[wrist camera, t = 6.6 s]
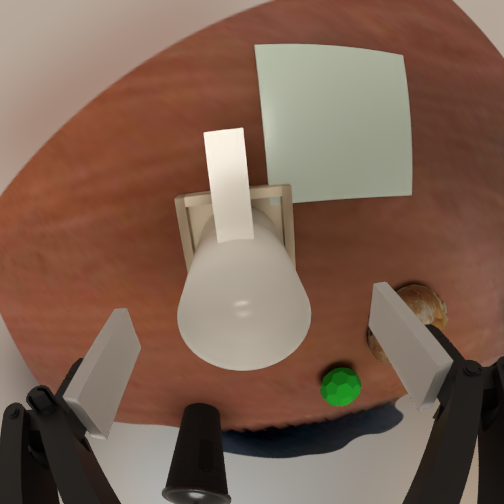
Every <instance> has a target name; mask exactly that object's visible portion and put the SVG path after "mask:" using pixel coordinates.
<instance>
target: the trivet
mask: <svg viewBox="0 0 504 504" xmlns="http://www.w3.org/2000/svg"><path fill="white" fill-rule="evenodd" d="M254 51H255V59H256V68H257V77H258V87H259V96H260V106H261V116H262V126H263V136H264V147H265V158H266V169H267V180H268V185H278V184H290V185H291V188H292V203H299V202H311V201H323V200H337V199H351V198H367V197H386V196H408V195H412V136H411V119H410V107H409V96H408V87H407V80H406V72H405V66H404V59H403V55H398V54H393V53H388V52H382V51H375V50H368V49H361V48H352V47H343V46H330V45H313V44H264V45H254ZM277 204H281V199H280V196H279V197H270V205H277Z"/></svg>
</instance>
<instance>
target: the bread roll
mask: <svg viewBox="0 0 504 504" xmlns="http://www.w3.org/2000/svg"><path fill="white" fill-rule="evenodd" d="M396 293H397V294H398V295H399V296H400V298H401V299H402V300H403V301H404V302H405V303H406V304H407V306H408V307H409V308H410V309H411V310H412V311H413V312H414V314H415V315H416V316H417V317H418V318H419V319H420V321H421V322H422V323H423V324H424V325H427V324H432V325H434V326H435V327H437V328H439V329H440V330H441V332H442V333H443V334H444V332H445V328H446V324H447V321H448V318H447V316H446V312H447V308H446V304H445V303H444V301H442V302H441V301H440V299H439V298H438V297H437V295H436V293H435V292H433V291H431V290H430V289H428V288H426V287H425V286H422V285H413V284H412V285H410V286H406V287H402V288H401V289H399V290H398V291H396ZM369 318H370V317H369ZM368 334H369V335H368V345H369V348H370V350H371V352H372V354H373V355H374V356H375V357H376V358H377V359H378V360H380V361H381V362H384V363H385V364H389V365H392V364H391V362H390V361H389V359H388V357H387V356H386V354H385V352H384V351H383V349H382V347H381V346H380V344H379V342H378V341H377V339H376V337H375V336H374V334H373V332H372V331H371V329H370V328H369V330H368Z"/></svg>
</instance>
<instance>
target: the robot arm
mask: <svg viewBox="0 0 504 504" xmlns="http://www.w3.org/2000/svg"><path fill="white" fill-rule="evenodd" d="M368 326H369V328H370V329H371V331H372V332H373V334H374V336H375V337H376V339H377V341H378V342H379V344H380V346H381V347H382V349H383V351H384V352H385V354H386V356H387V357H388V359H389V361H390V362H391V364H392V366H393V368H394V369H395V371H396V373H397V375H398V376H399V378H400V380H401V382H402V383H403V385H404V387H405V389H406V390H407V392H408V394H409V396H410V398H411V399H412V401H413V403H414V405H415V407H416V409H417V410H418V411H421V410H424V409H426V408H429V407H432V406H433V404H434V402H435V400H436V398H438V400H439V402H440V405H439V407H438V409H437V411H436V413H435V414H434V416H433V418H434V419H435V421H434V424H433V428H432V431H431V434H430V437H429V440H428V443H427V446H426V449H425V452H424V454H423V457H422V460H421V462H420V465H419V468H418V470H417V473H416V475H415V477H414V480H413V482H412V484H411V487H410V489H409V491H408V493H407V495H406V497H405V499H404V501H403V503H402V504H459V503H460V500H461V497H462V494H463V491H464V488H465V485H466V481H467V478H468V474H469V470H470V466H471V463H472V458H473V454H474V449H475V444H476V439H477V434H478V452H479V482H478V501H477V504H504V356H503V357H500V358H499V359H498V361H497V363H496V365H495V366H490V367H482V366H481V365H480V364H479V363H478V362H476V361H473V360H465V359H464V358H463V356H462V355H461V354H460V353H459V352H458V350H457V349H456V348H455V347H454V346H453V344H452V343H451V342H449V340H448V338H447V337H445V335H444V334H443V333H442V332H441V330H440V329H439V328H437V327H435V326H434V325H432V324H427V325H424V324H423V323H422V322H421V321H420V319H419V318H418V317H417V316H416V315H415V314H414V312H413V311H412V310H411V309H410V308H409V307H408V306H407V304H406V303H405V302H404V301H403V300H402V299H401V298H400V296H399V295H398V294H397V293H396V292H395V291H394V290H393V289H392V288H391V287H390V285H389V284H388V283H387V282H381V283H374V285H373V294H372V302H371V310H370V318H369V325H368ZM140 350H141V346H140V343H139V341H138V338H137V335H136V333H135V330H134V327H133V324H132V322H131V319H130V316H129V313H128V310H127V308H121V309H114V311H113V312H112V314H111V316H110V317H109V319H108V320H107V322H106V323H105V325H104V327H103V328H102V330H101V331H100V333H99V335H98V336H97V338H96V339H95V341H94V343H93V344H92V346H91V348H90V349H89V351H88V353H87V354H86V356H85V358H80V359H78V360H77V361H76V362H75V363H74V364H73V365H72V367H71V368H70V370H69V373H67V375H66V377H65V379H64V380H63V382H62V384H61V386H60V387H59V389H58V391H57V393H56V394H55V396H54V395H53V393H52V392H51V390H50V389H49V387H47V386H43V385H40V386H37V387H35V388H33V389H32V390H31V391H30V392H29V393H28V395H27V397H26V402H27V403H28V404H29V406H30V407H31V408H32V410H26V409H25V408H24V407H23V406H22V404H20V403H13V404H11V405H9V406H8V407H7V408H6V409H5V411H4V414H3V421H2V428H1V436H0V504H60V503H59V497H58V491H59V493H60V496H61V498H62V501H63V503H64V504H121V503H120V501H119V499H118V498H117V496H116V494H115V493H114V491H113V489H112V487H111V486H110V484H109V482H108V480H107V478H106V477H105V475H104V473H103V471H102V469H101V467H100V465H99V463H98V461H97V459H96V457H95V455H94V453H93V451H92V449H91V446H90V444H89V442H88V440H87V438H86V437H85V436H84V435H85V432H86V430H87V431H88V432H89V433H90V434H91V436H92V437H95V438H100V439H106V440H107V438H108V435H109V432H110V429H111V426H112V423H113V421H114V418H115V415H116V412H117V409H118V407H119V404H120V401H121V398H122V396H123V393H124V390H125V388H126V385H127V383H128V380H129V377H130V375H131V372H132V370H133V367H134V365H135V362H136V360H137V357H138V355H139V352H140ZM57 488H58V490H57Z"/></svg>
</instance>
